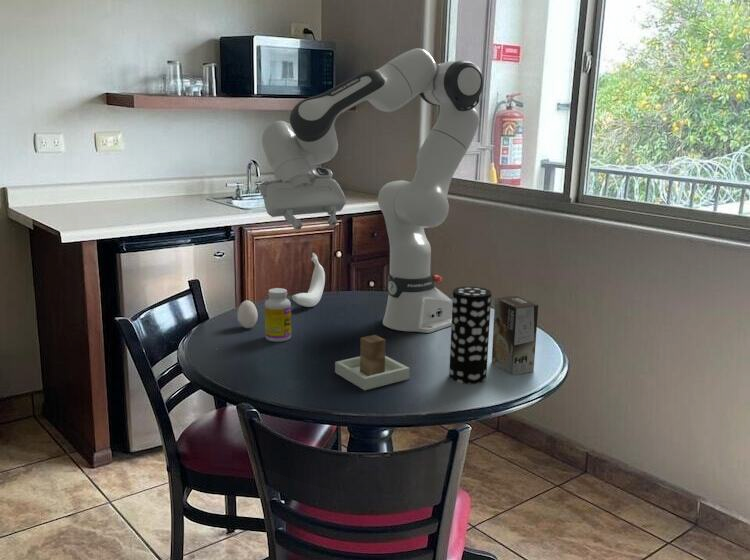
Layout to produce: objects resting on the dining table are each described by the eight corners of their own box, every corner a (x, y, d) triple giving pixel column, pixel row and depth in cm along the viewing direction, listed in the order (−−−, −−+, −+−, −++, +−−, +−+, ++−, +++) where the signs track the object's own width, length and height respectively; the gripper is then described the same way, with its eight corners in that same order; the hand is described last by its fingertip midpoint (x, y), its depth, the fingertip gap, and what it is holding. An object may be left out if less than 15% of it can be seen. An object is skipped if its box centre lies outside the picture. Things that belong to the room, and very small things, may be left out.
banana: (291, 313, 207) (291, 264, 203) (313, 296, 225) (312, 250, 221) (307, 315, 206) (307, 265, 202) (328, 297, 223) (328, 251, 220)
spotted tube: (476, 386, 157) (481, 298, 152) (442, 378, 161) (446, 292, 156) (492, 375, 163) (497, 290, 158) (458, 367, 168) (463, 284, 163)
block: (374, 367, 164) (375, 334, 162) (384, 373, 161) (385, 339, 159) (359, 371, 162) (360, 337, 160) (369, 377, 159) (370, 342, 157)
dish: (378, 362, 170) (378, 352, 169) (409, 378, 160) (409, 368, 160) (335, 372, 163) (335, 361, 162) (364, 390, 154) (364, 379, 153)
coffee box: (535, 371, 166) (540, 305, 162) (512, 375, 163) (516, 308, 159) (512, 358, 174) (516, 295, 170) (489, 362, 171) (493, 297, 167)
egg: (239, 324, 196) (238, 297, 194) (259, 324, 196) (258, 297, 194) (236, 331, 191) (235, 303, 189) (256, 331, 191) (256, 303, 189)
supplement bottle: (286, 343, 182) (285, 294, 178) (261, 341, 183) (260, 292, 180) (294, 335, 188) (294, 288, 185) (270, 333, 189) (269, 286, 186)
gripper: (260, 173, 165) (280, 221, 160) (336, 169, 176) (357, 214, 171) (252, 190, 170) (272, 238, 164) (327, 185, 181) (347, 230, 175)
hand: (316, 226), depth 168 cm, fingers open, 8 cm apart
